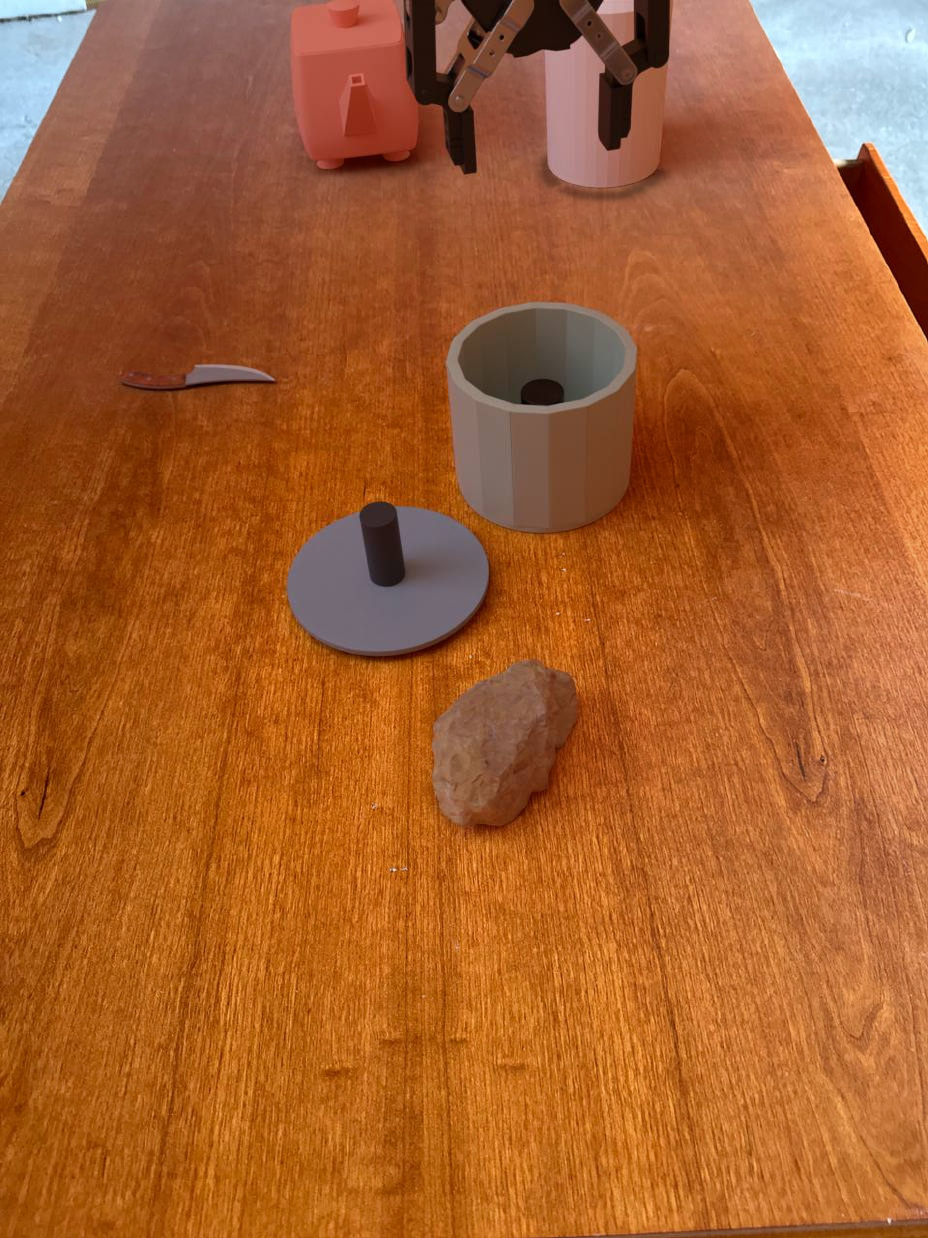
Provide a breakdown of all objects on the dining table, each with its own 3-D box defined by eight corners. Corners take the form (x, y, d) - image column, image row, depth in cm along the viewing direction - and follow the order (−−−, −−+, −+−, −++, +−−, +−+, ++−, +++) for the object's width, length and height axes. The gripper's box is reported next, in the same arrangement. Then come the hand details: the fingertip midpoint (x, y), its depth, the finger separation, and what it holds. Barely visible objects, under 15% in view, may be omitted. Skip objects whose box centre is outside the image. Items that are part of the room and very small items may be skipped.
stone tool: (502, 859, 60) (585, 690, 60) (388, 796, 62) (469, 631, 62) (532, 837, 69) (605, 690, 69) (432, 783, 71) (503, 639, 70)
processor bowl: (599, 407, 89) (603, 288, 81) (653, 512, 80) (663, 390, 73) (441, 438, 87) (430, 320, 80) (480, 548, 79) (471, 428, 71)
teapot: (431, 187, 114) (418, 39, 104) (305, 202, 114) (280, 55, 103) (411, 95, 129) (398, -43, 119) (299, 108, 129) (276, -29, 118)
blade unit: (547, 426, 87) (547, 348, 82) (611, 463, 83) (614, 385, 78) (475, 475, 84) (470, 397, 78) (538, 515, 80) (537, 436, 75)
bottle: (656, 130, 120) (674, -148, 101) (668, 185, 112) (689, -106, 93) (543, 136, 120) (540, -140, 102) (546, 191, 112) (544, -97, 94)
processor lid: (464, 501, 82) (458, 428, 78) (512, 637, 73) (508, 564, 69) (278, 539, 81) (260, 467, 76) (303, 682, 72) (285, 611, 67)
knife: (278, 358, 95) (274, 379, 93) (280, 364, 95) (275, 385, 93) (121, 364, 96) (114, 385, 93) (123, 370, 96) (115, 392, 94)
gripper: (402, -134, 51) (432, 207, 63) (705, -176, 52) (678, 165, 64) (373, -176, 56) (406, 148, 68) (651, -213, 57) (635, 110, 69)
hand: (538, 156), depth 66 cm, fingers open, 8 cm apart
